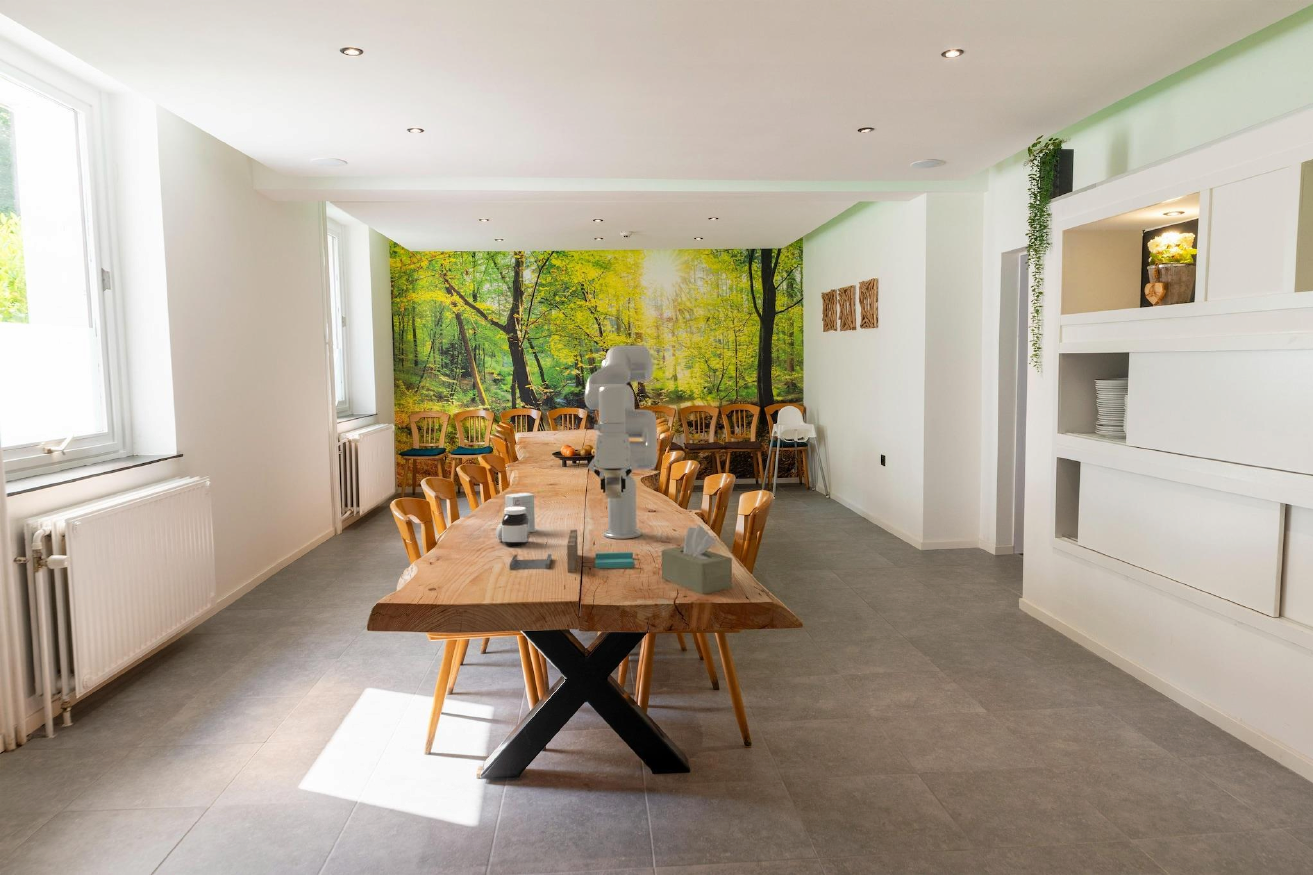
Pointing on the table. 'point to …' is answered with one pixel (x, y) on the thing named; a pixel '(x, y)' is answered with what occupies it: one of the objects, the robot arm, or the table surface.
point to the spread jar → (514, 527)
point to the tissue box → (697, 564)
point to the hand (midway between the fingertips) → (613, 491)
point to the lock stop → (612, 483)
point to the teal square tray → (614, 560)
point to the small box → (523, 505)
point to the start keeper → (530, 563)
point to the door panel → (572, 551)
